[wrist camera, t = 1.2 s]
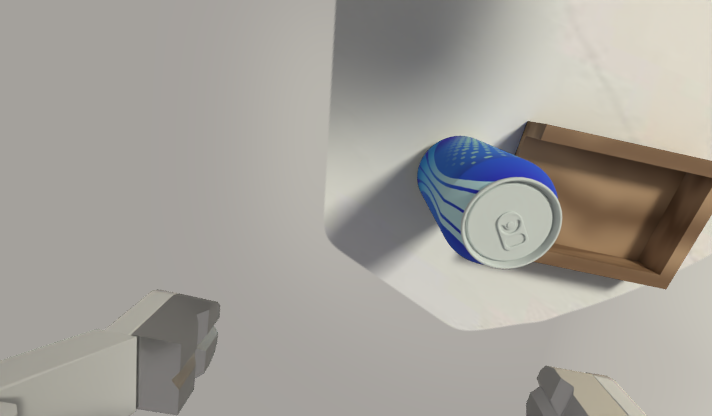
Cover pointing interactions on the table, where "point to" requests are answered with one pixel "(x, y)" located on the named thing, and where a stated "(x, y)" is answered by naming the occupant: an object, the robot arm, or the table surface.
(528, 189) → the beer can
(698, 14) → the table surface
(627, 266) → the open box
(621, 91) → the table surface
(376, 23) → the table surface
